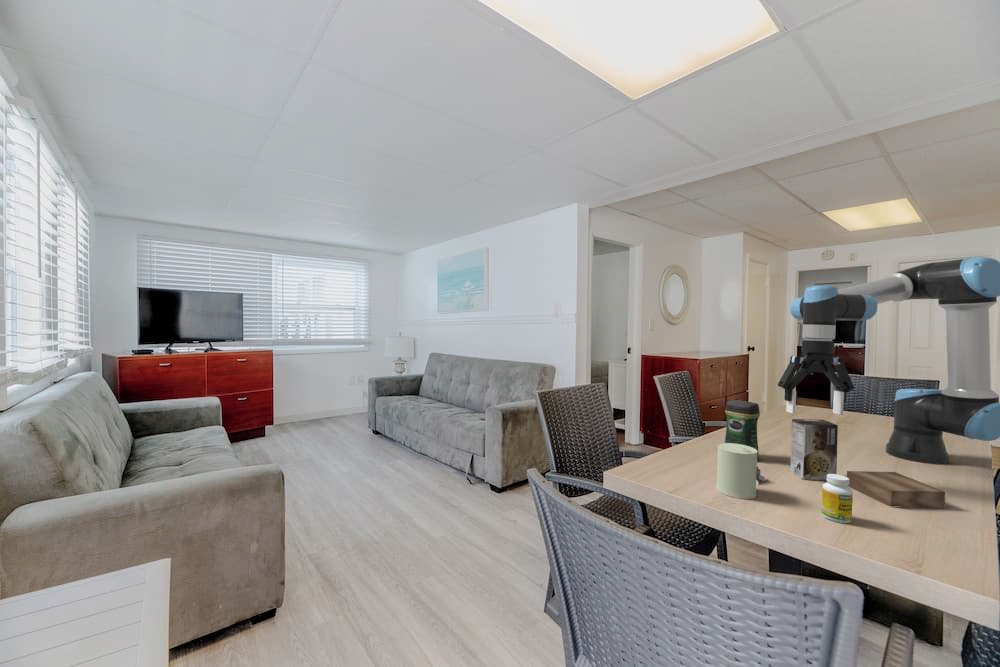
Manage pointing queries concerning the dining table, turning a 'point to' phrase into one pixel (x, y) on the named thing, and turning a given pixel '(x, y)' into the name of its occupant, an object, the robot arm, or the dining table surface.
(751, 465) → the can
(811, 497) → the dining table surface
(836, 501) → the supplement bottle
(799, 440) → the cookie box
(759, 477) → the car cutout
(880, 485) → the walnut stand
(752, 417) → the coffee jar
